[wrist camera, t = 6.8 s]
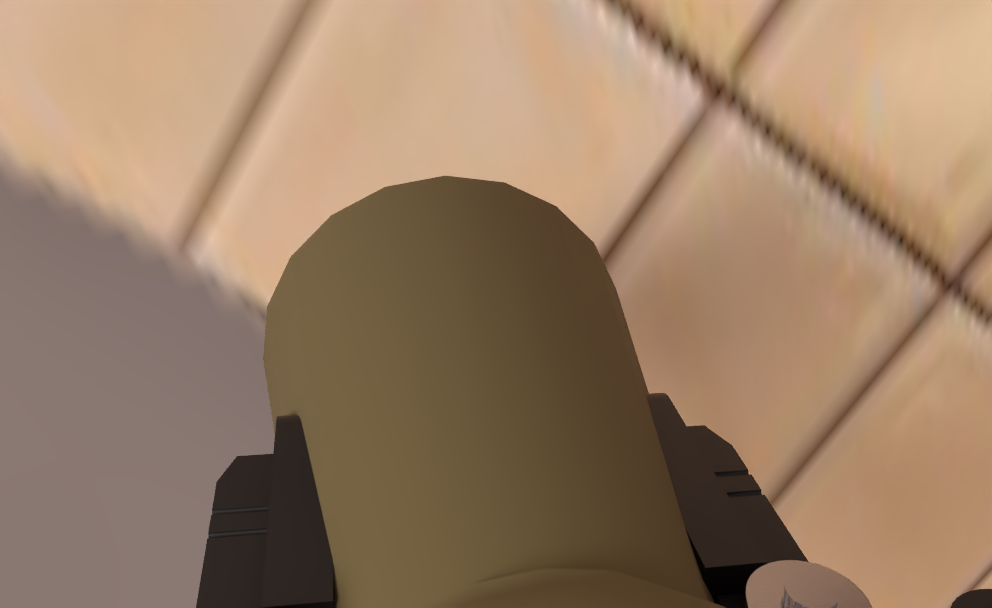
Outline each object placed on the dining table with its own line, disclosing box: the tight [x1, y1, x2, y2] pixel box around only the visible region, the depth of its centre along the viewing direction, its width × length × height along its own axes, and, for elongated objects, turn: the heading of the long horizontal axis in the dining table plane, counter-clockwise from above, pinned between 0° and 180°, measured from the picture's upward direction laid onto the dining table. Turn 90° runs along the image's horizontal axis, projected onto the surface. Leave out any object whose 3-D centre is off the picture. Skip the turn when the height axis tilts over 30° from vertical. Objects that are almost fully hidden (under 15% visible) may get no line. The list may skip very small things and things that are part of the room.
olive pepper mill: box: [263, 176, 726, 608], centre depth 11 cm, size 6×6×11 cm
